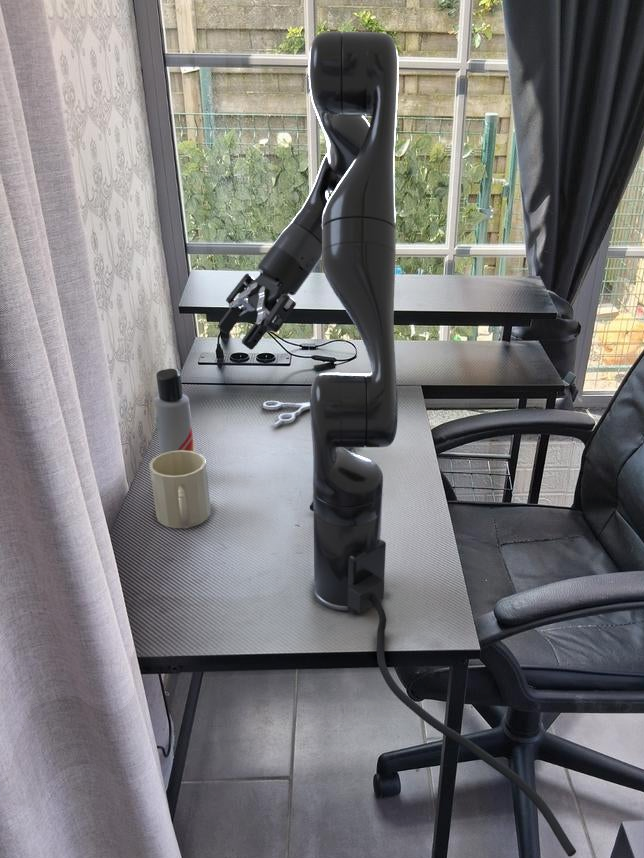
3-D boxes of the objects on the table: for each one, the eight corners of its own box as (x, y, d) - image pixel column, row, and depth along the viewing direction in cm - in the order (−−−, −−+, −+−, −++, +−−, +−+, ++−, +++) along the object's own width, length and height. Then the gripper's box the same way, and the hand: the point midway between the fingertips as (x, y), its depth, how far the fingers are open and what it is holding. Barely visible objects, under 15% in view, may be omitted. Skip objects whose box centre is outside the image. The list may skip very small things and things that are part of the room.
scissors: (254, 403, 164) (340, 385, 173) (254, 407, 165) (340, 389, 173) (275, 424, 157) (363, 404, 165) (275, 427, 157) (363, 408, 166)
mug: (155, 503, 132) (148, 453, 127) (208, 497, 135) (203, 447, 129) (158, 543, 123) (151, 490, 118) (214, 536, 125) (209, 484, 120)
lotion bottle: (203, 478, 140) (193, 372, 129) (176, 490, 136) (163, 381, 125) (184, 466, 143) (172, 362, 132) (157, 477, 139) (142, 371, 129)
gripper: (255, 235, 133) (198, 313, 133) (300, 254, 123) (238, 339, 124) (284, 262, 138) (229, 338, 139) (329, 283, 129) (270, 364, 129)
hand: (234, 338), depth 131 cm, fingers open, 8 cm apart
